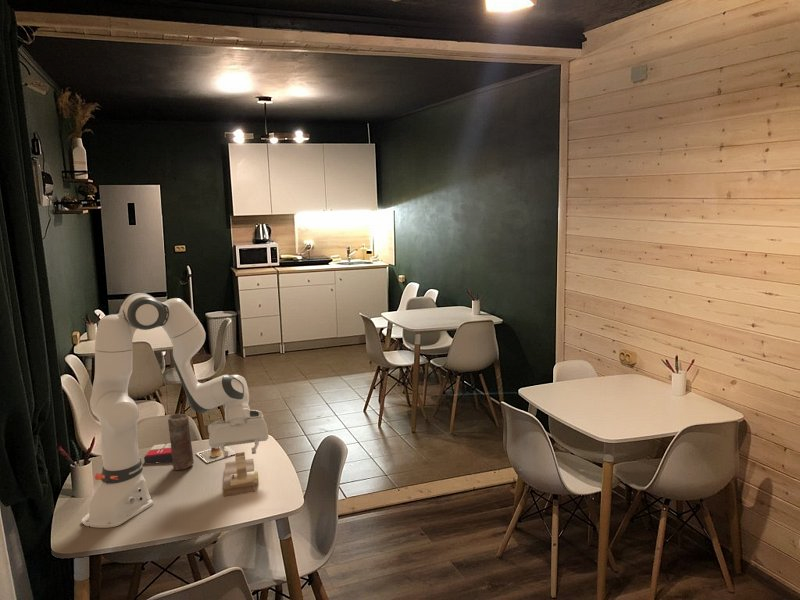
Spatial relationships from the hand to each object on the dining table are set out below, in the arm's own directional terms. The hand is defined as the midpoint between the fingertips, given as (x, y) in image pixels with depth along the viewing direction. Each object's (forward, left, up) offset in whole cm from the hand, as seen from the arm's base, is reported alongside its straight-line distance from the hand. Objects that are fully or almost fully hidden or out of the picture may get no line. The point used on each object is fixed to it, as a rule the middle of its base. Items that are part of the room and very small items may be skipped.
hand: (240, 455), depth 217 cm
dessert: (+21, +23, -12) cm, 34 cm away
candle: (+10, +30, -11) cm, 33 cm away
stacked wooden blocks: (-1, -2, -9) cm, 10 cm away
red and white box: (+17, +42, -11) cm, 47 cm away
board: (+3, +3, -11) cm, 11 cm away
